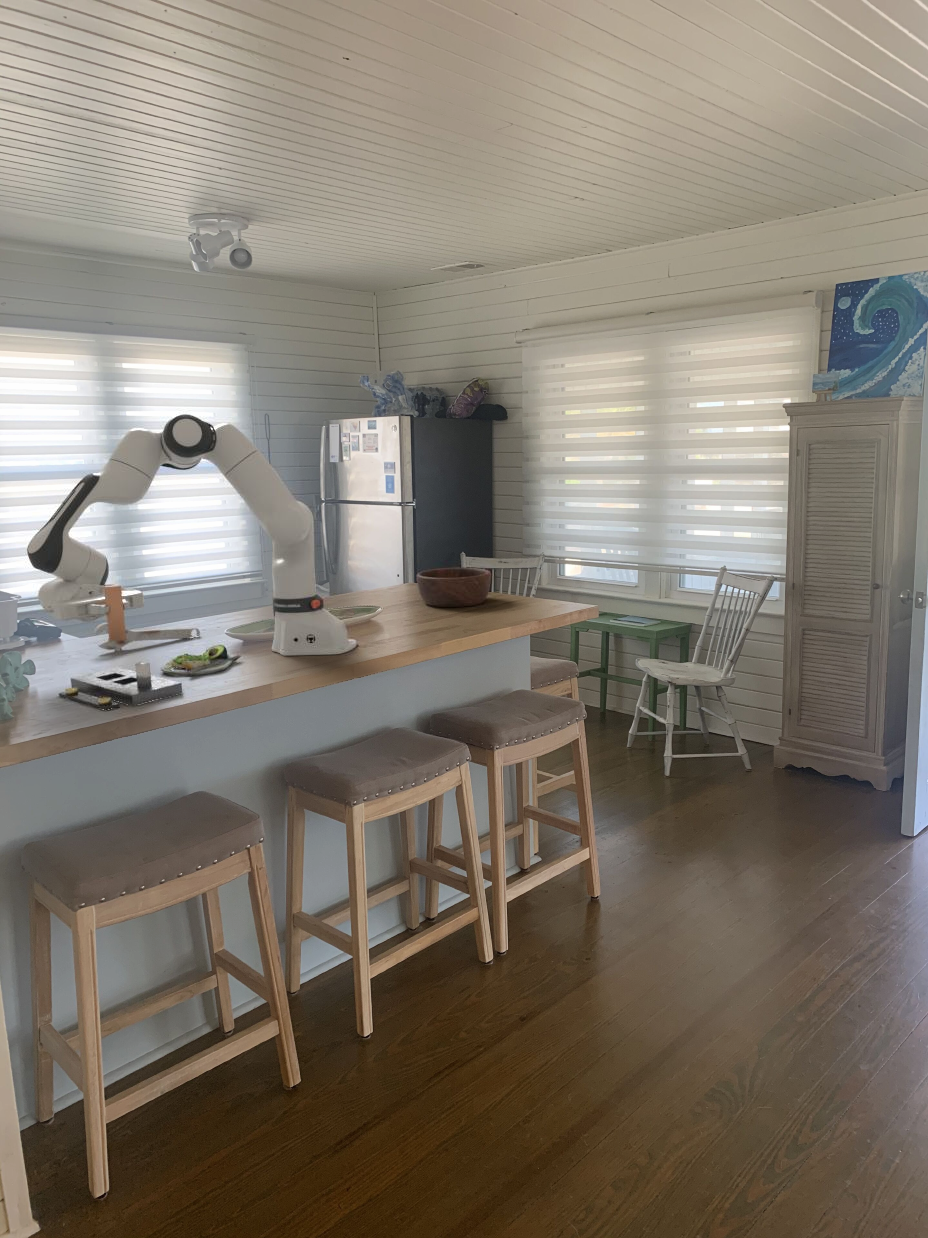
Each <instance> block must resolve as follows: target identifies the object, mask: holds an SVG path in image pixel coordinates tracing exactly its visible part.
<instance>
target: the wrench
mask: <svg viewBox="0 0 928 1238" xmlns="http://www.w3.org/2000/svg"><path fill="white" fill-rule="evenodd" d="M125 629H126V628H125ZM194 630H195V631H196V633H195V635H196V636H199V637H200V635H201V631H200V629H199V628H197V627H180V628H179V627H178V628H163V629H162V628H161V629H159V628H158V629H146V630H145V629H144V630H143V629H140V630H130V629H126V639H125V640H121V641H109V638H108V639H107V640H105V641H102V642H100V643H99V644H98V647H99V648H100V649H104V650H107V651H111V650H112V651H113V650H114V651H115V650H116V651H115V652H117V651H118V652H120V651H119V650H121V651H123V647H125V646H126V645H128V644H130V643H133V642H140V641H141V642H142V641H163V640H164V641H165V640H166V641H167V640H184V639H183V638H190V637H193V635H192V632H193V631H194ZM103 632H105V633H106V634H108V635H109V632H108V623H107V622H102V623H100V624H97V626H96V627H95V628H94V630H93V635H96V636H97V635H99V634H101V633H103Z"/></svg>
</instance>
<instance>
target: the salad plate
mask: <svg viewBox="0 0 928 1238" xmlns="http://www.w3.org/2000/svg"><path fill="white" fill-rule="evenodd" d="M241 657H242V655H241V654H237V655H235V656H234V655H233V654H229V653H228V650H227V647H226V646H225V645H223V644H218V645H212V646H211V647H209V648H208V649H206V650H205V652H203V654H188V653H184V654H181V655H177V656H176V657H173V658H170V660H168V661H167V662H166V663H165V664H164V665H162V666H161V667H160V670H161V672H162V673H165V674H166V673H167V674H166V675H169V674H170V675H169V676H174V675H188V676H201V675H202V674H203V675H206V674H207V675H208V674H213V673H218V672H221V671H224V670H226V669H227V668H228V667H229V666H231V665H232V664H233V663H234V662H236V661H237V660H238V659H240V658H241ZM174 667H177V668H176V669H180V668H185V669H184V671H182V670H173V671H172V670H171V669H172V668H174ZM174 669H175V668H174Z"/></svg>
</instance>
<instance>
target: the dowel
mask: <svg viewBox="0 0 928 1238" xmlns="http://www.w3.org/2000/svg"><path fill="white" fill-rule="evenodd" d="M121 588H122V585H121V584H118V585H111V586H105V587H104V594H105V604H106V605H108V606H109V613H107V615H106V623H108V632H109V634H108V639H109V641H121V640H125V639H126V621H125V620H126V619H125V610H124V609H123V599H122V589H121Z"/></svg>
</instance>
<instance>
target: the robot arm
mask: <svg viewBox="0 0 928 1238" xmlns="http://www.w3.org/2000/svg"><path fill="white" fill-rule="evenodd" d="M202 460H206V461H208V462H210V463H212V464H213V465H214V466H215V467H217V469H218V470H219V471H220V473H221V474H222V475H223V477H224V478H225V479H226V480H227V481H228V483H229V484H230V485H231V486H232V487H233V489H235V491H236V492H237V493H238V495H239V496H240V497H241V498H242V500H243V501H244V502H245V505H247V506H248V508H249V510H250V511H251V513H252V514H253V516H254V517H255V519H256V520H257V522H258V523H259V524H260V526H261V527H262V529H263V530H264V531H265V532H266V534H267V535H268V537H269V538H270V540H272V564H271V570H272V571H271V572H272V587H273V597H272V611H273V617H274V631H273V641H272V646H271V651H273V652H275V653H278V654H279V655H282V656H310V655H311V656H314V655H315V656H317V655H319V656H321V655H323V656H324V655H339V654H344V653H346V652H347V653H348V652H349V651H351V650H353V649H355V648H356V646H358V645H357V640H355V639H352V638H351V639H350V638H349V635H348V631H347V626H346V625H345V622H343V621H342V620H341V619H339V618H338V617H337V616H335V615H333V614H332V613H331V612H330V611H328V610H327V609H325V608H324V607H325V606H324V602H326V596H324V597H321V596H320V595H318V594H317V588H316V585H317V584H316V571H315V569H316V568H315V525H314V515H313V513H312V511H311V509H310V508H309V506H308V505H307V504H305V503H304V502H302V501H299V500H296V498H295V497H294V496H293V494H292V493H291V492H290V490H289V489H288V487H287V485H286V484H285V483H284V481H283V480H282V479H281V477H280V475H279V474H278V472H277V471H276V470H275V469H274V468H273V466H272V465H271V464H270V463H269V461H268V460H267V458H265V456H264V455H263V454H262V453H261V451H260V450H259V449H258V448H257V447H256V445H255V444H254V443H253V442H252V441H251V440H250V439H249V438H248V437H247V435H245V434H244V433H243V432H242V431H241V430H240V429H239V428H237V427H236V426H235V425H234V424H231V423H228V422H227V423H220V424H217V425H215V426H214V425H212V424H211V423H209V422H206V421H204V420H202V419H200V418H199V417H197V416H194V415H192V414H189V413H188V414H187V413H186V414H185V413H182V414H178V415H175V416H173V417H171V419H169V420H168V421H167V422H166V424H165V426H164V427H163V430H162V431H161V432H153V431H151V430H148V429H146V428H141V427H137V428H136V427H135V428H132V429H130V430H128V431H127V432H126V434H125V435H124V436H123V438H121V440H120V441H119V443H118V444H117V445H116V447H115V449H114V451H113V452H112V453H111V456H110V457H109V459H108V461H107V463H106V464H105V465H104V467H103V468H102V469H100V470H99V471H98V472H96V473H89V474H86V475H85V476H84V477H82V479H80V481H78V483H77V484H76V485H74V486H75V487H73V489H72V490H71V491H70V492H69V494H68V495H67V497H66V498H65V499H64V500H63V501H62V503H61V504H60V505H59V507H58V508H57V509H56V511H54V513H53V515H52V516H51V517H50V519H48V521H47V522H46V523H45V525H43V526H42V527H41V529H39V531H37V532H36V534H35V535H33V536H32V539H31V540H30V541H29V543H28V545H27V548H26V551H27V556H28V557H27V558H28V560H29V562H30V565H31V566H32V567H33V568H34V569H37V570H39V571H41V572H44V573H47V574H51V575H53V576H55V578H54V579H52V580H50V581H47V582H45V583H43V584H42V586H41V587H40V588H39V590H38V593H37V597H38V602H39V604H40V606H41V608H42V609H43V611H44V613H49V614H50V615H52V618H54V619H56V620H59V621H63V622H64V621H72V620H73V621H78V622H83V623H91V622H94V621H96V620H98V619H101V618H103V617H104V616H107V613H109V606H108V605H106V604H105V594H104V587H105V586H111V585H119V584H116V583H115V584H106V583H107V580H108V578H109V575H110V574H109V572H110V571H109V567H110V566H109V562H108V559H107V557H106V555H105V554H104V553H101V552H100V551H99V550H96V549H95V548H93V547H91V546H89V545H86V544H84V543H82V542H80V541H78V540H77V539H74V538H73V537H71V536H70V534H69V533H70V531H71V529H72V528H73V527H74V526H75V524H76V523H77V521H78V520H79V518H80V517H81V516H82V515H83V513H84V512H85V510H86V509H87V508H89V506H91V505H93V504H96V503H97V504H98V503H106V504H112V505H118V506H119V505H120V506H126V505H133V504H135V503H137V502H140V501H141V500H142V499H143V498H144V497H145V495H146V494H147V493H148V490H149V489H150V487H151V484H152V483H153V480H154V479H155V476H156V475H157V473H158V471H159V469H160V468H161V467H162V468H163V467H164V468H170V469H173V470H179V471H187V470H190V469H193V468H195V467H197V466H198V464H199V463H200V462H201V461H202ZM121 589H122V599H123V609H124V611H129V610H135V609H142V608H144V606H145V598H144V597H145V596H144V593H143V592H142V591H141V590H138V589H134V588H129V587H121Z"/></svg>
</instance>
